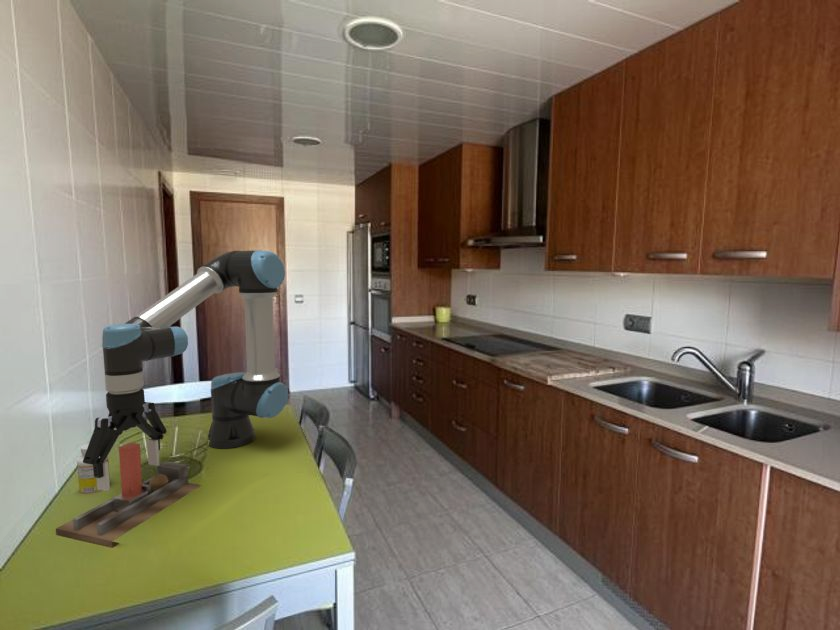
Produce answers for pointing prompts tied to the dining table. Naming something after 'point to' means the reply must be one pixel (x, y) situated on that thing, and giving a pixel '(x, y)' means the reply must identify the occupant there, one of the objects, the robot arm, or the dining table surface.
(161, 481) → the nut
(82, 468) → the supplement bottle
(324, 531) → the dining table surface
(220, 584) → the dining table surface
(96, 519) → the base
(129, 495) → the lever
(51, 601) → the dining table surface
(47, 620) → the dining table surface
